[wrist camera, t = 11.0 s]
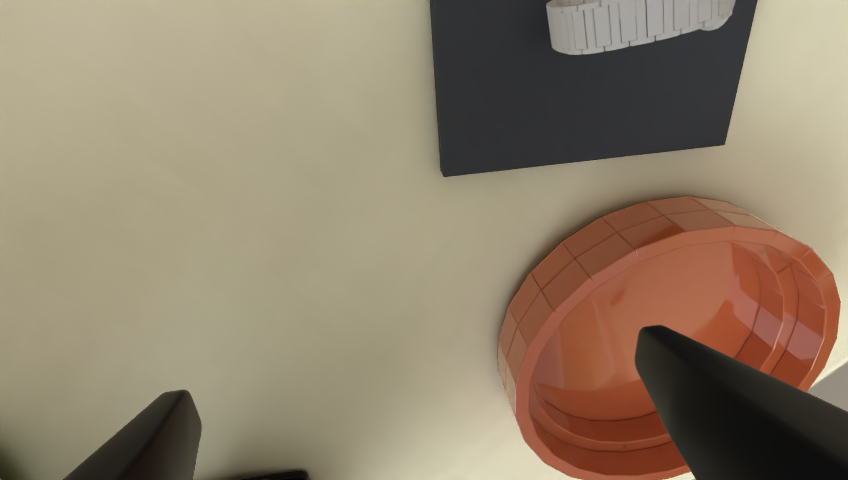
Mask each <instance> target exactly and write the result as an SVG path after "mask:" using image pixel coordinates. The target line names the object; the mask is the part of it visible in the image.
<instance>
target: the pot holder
mask: <svg viewBox="0 0 848 480" xmlns="http://www.w3.org/2000/svg"><path fill="white" fill-rule="evenodd" d="M550 1H552V0H430V12H431V27H432V43H433V58H434V74H435V90H436V105H437V121H438V137H439V152H440V168H441V172H442V174H443V176H444V177H449V176H458V175H467V174H475V173H484V172H493V171H502V170H510V169H519V168H528V167H537V166H545V165H554V164H563V163H572V162H580V161H589V160H598V159H607V158H615V157H624V156H633V155H642V154H650V153H659V152H668V151H676V150H685V149H694V148H703V147H711V146H720V145H724V144H725V141H726V137H727V132H728V128H729V124H730V119H731V115H732V110H733V106H734V101H735V97H736V93H737V88H738V84H739V79H740V75H741V70H742V66H743V62H744V57H745V53H746V48H747V44H748V39H749V35H750V31H751V26H752V22H753V17H754V13H755V8H756V4H757V0H736V3H735V5H734V8H733V10H732V15H731V16H729V18H728V20H727V21H726V22H725V23H724V24H723V25H722V26H721V27H719V28H718V29H715V30H711V31H706V30H701V29H698V30H695V31H692V32H689V33H685V34H680V35H678V36H675V37H671V38H667V39H663V40H658V41H656V40H655V41H654V42H651V43H646V44H641V45H636V46H630V41H629V47H625V48H621V49H616V50H611V51H604V52H600V53H593V54H581V55H569V54H566V53H561V52H558V51H556V50H554V49H553V48H552V44H551V37H550V30H549V22H548V15H547V8H546V4H547V3H548V2H550ZM646 30H647V27H646ZM620 32H621V23H620ZM636 33H637V26H636ZM655 39H656V35H655ZM621 42H622V38H621ZM604 48H605V46H604Z"/></svg>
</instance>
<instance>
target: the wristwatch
mask: <svg viewBox="0 0 848 480" xmlns="http://www.w3.org/2000/svg"><path fill="white" fill-rule="evenodd" d="M735 3H736V0H552V1H550V2H548V3H547V4H546V8H547V15H548V22H549V30H550V37H551V44H552V48H553V49H554V50H556V51H558V52H561V53H566V54H569V55H581V54H593V53H600V52H604V51H611V50H616V49H621V48H625V47H629V41H630V46H636V45H641V44H646V43H651V42H654V41H655V40H656V41H658V40H663V39H667V38H671V37H675V36H678V35H680V34H685V33H689V32H692V31H695V30H698V29H701V30H706V31H711V30H715V29H718V28H719V27H721V26H722V25H723V24H724V23H725V22H726V21H727V20H728V18H729V16H731V15H732V10H733V8H734V5H735ZM620 23H621V32H620ZM636 26H637V33H636ZM646 27H647V30H646ZM655 35H656V39H655ZM621 38H622V42H621ZM604 46H605V48H604Z"/></svg>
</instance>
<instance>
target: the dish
mask: <svg viewBox="0 0 848 480" xmlns="http://www.w3.org/2000/svg"><path fill="white" fill-rule="evenodd" d="M840 303H841V302H840V298H839V294H838V291H837V287H836V283H835V280H834V276H833V273H831V271H830V269H829V268H828V267H827V266H826V265H825V264H824V262H823V261H822V260H821V259H820V258H819V256H818V255H817V254H816V253H815V252H814V250H813V249H812V248H811V247H809V246H808V245H806V244H804V243H803V242H801V241H799V240H797V239H796V238H794V237H792V236H790V235H788V234H787V233H785V232H783V231H781V230H780V229H778V228H776V227H774V226H772V225H771V224H769V223H767V222H765V221H764V220H762V219H760V218H758V217H756V216H754V215H752V214H750V213H749V212H747V211H745V210H743V209H741V208H739V207H737V206H735V205H733V204H731V203H727V202H725V201H718V200H711V199H704V198H697V197H677V198H669V199H661V200H653V201H646V202H641V203H638V204H636V205H633V206H630V207H627V208H625V209H622V210H619V211H616V212H614V213H611V214H608V215H605V216H603V217H601V218H598V219H597V220H595V221H594V222H592V223H590V224H589V225H587V226H586V227H584V228H582V229H581V230H579V231H578V232H576V233H574V234H573V235H571V236H570V237H568V238H567V239H565V240H563V241H562V243H560V244H559V245H558V246H557V247H556V248H555V249H554V250H553V251H552V252H551V253H550V254H549V255H548V256H547V257H546V258H545V259H544V260H543V261H541V262H540V263H539V264H538V265H537V266H536V267H535V268H534V269H533V270H532V271H531V273H529V274H528V276H527V278H526V279H525V281H524V282H523V284H522V285H521V287H520V288H519V290H518V292H517V293H516V295H515V296H514V298H513V299H512V301H511V302H510V304H509V306H508V309H507V312H506V315H505V319H504V322H503V325H502V328H501V331H500V334H499V338H498V371H499V373H500V376H501V379H502V382H503V384H504V387H505V390H506V393H507V395H508V398H509V401H510V404H511V407H512V409H513V412H514V415H515V418H516V420H517V423H518V426H519V428H520V431H521V434H522V436H523V439H524V441H525V442H526V443H527V445H528V446H529V447H530V448H531V449H532V450H533V451H534V452H535V453H536V454H537V456H538V457H539V458H540V459H541V460H542V461H543V462H544V463H545V464H547V465H549V466H551V467H553V468H555V469H556V470H558V471H560V472H562V473H564V474H566V475H567V476H570V477H573V478H577V479H582V480H663V479H669V478H672V477H675V476H678V475H682V474H685V473H688V472H691V470H690V469H689V467H688V466H687V464H686V462H685V461H684V459H683V458H682V456H681V454H680V453H679V451H678V450H677V448H676V446H675V445H674V443H673V441H672V440H671V438H670V436H669V434H668V432H667V431H666V429H665V427H664V425H663V423H662V421H661V419H660V417H659V415H658V413H657V411H656V408H655V406H654V404H653V402H652V400H651V398H650V396H649V394H648V392H647V390H646V388H645V386H644V384H643V382H642V380H641V378H640V376H639V374H638V372H637V370H636V367H635V361H634V358H635V351H636V345H637V340H638V334H639V331H640V329H641V328H643V327H645V326H653V325H663V326H666V327H668V328H670V329H672V330H674V331H676V332H678V333H681V334H683V335H685V336H687V337H689V338H691V339H693V340H696V341H698V342H700V343H702V344H704V345H706V346H708V347H711V348H713V349H715V350H717V351H719V352H721V353H723V354H725V355H728V356H730V357H732V358H734V359H736V360H738V361H740V362H743V363H745V364H747V365H749V366H751V367H753V368H755V369H758V370H760V371H762V372H764V373H766V374H768V375H770V376H772V377H775V378H777V379H779V380H781V381H783V382H785V383H787V384H790V385H792V386H794V387H796V388H798V389H800V390H802V391H804V392H807V391H808V389H809V388H810V387H811V385H812V384H813V382H814V381H815V380H816V378H817V377H818V376H819V374H820V373H821V371H822V370H823V369H824V367H825V365H826V362H827V360H828V358H829V355H830V353H831V351H832V348H833V346H834V343H835V341H836V339H837V332H838V323H839V314H840Z"/></svg>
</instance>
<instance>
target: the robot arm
mask: <svg viewBox="0 0 848 480" xmlns="http://www.w3.org/2000/svg"><path fill="white" fill-rule="evenodd" d="M634 361H635V367H636V370H637V372H638V374H639V376H640V378H641V380H642V382H643V384H644V386H645V388H646V390H647V392H648V394H649V396H650V398H651V400H652V402H653V404H654V406H655V408H656V411H657V413H658V415H659V417H660V419H661V421H662V423H663V425H664V427H665V429H666V431H667V432H668V434H669V436H670V438H671V440H672V441H673V443H674V445H675V446H676V448H677V450H678V451H679V453H680V454H681V456H682V458H683V459H684V461H685V462H686V464H687V466H688V467H689V469H690V470H691V472H692V474H693V475H694V477H695V478H696V480H848V412H847V411H845V410H843V409H841V408H838V407H836V406H834V405H832V404H830V403H828V402H826V401H823V400H822V399H819V398H817V397H815V396H813V395H811V394H809V393H807V392H804V391H802V390H800V389H798V388H796V387H794V386H792V385H790V384H787V383H785V382H783V381H781V380H779V379H777V378H775V377H772V376H770V375H768V374H766V373H764V372H762V371H760V370H758V369H755V368H753V367H751V366H749V365H747V364H745V363H743V362H740V361H738V360H736V359H734V358H732V357H730V356H728V355H725V354H723V353H721V352H719V351H717V350H715V349H713V348H711V347H708V346H706V345H704V344H702V343H700V342H698V341H696V340H693V339H691V338H689V337H687V336H685V335H683V334H681V333H678V332H676V331H674V330H672V329H670V328H668V327H666V326H663V325H653V326H645V327H643V328H641V329H640V331H639V334H638V340H637V345H636V351H635V358H634ZM200 437H201V420H200V417H199V415H198V412H197V409H196V407H195V404H194V402H193V399H192V397H191V395H190V393H189V392H188V391H187V390H177V391H170V392H165V393H163V394H162V395H160V396H159V397H158V398H157V399H156V400H154V401H153V402H152V403H151V404H150V405H149V406H147V407H146V408H145V409H144V410H143V411H142V412H141V413H139V414H138V415H137V416H136V417H135V418H134V419H132V420H131V421H130V422H129V423H128V424H127V425H125V426H124V427H123V428H122V429H121V430H120V431H119V432H117V433H116V434H115V435H114V436H113V437H112V438H110V439H109V440H108V441H107V442H106V443H105V444H103V445H102V446H101V447H100V448H99V449H98V450H97V451H95V452H94V453H93V454H92V455H91V456H90V457H88V458H87V459H86V460H85V461H84V462H83V463H81V464H80V465H79V466H78V467H77V468H76V469H75V470H73V471H72V472H71V473H70V474H69V475H68V476H66V477H65V478H64V479H63V480H193V475H194V469H195V464H196V458H197V453H198V447H199V442H200ZM243 480H310V479H309V476H308V474H307V473H306V472H303V471H295V472H288V473H282V474H275V475H269V476H262V477H256V478H249V479H243Z"/></svg>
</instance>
